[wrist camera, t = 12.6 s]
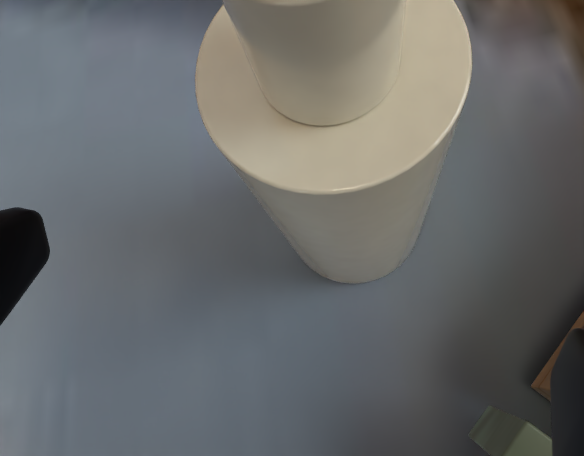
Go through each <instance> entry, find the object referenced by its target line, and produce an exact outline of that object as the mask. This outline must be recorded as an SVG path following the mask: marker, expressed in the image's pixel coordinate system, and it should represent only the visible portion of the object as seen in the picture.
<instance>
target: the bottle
mask: <svg viewBox="0 0 584 456" xmlns="http://www.w3.org/2000/svg"><path fill="white" fill-rule="evenodd" d="M222 2H223V5H222V7H221V8H220V9H219V11H218V12H217V14H216V15H215V17H214V18H213V20H212V22H211V24H210V26H209V27H208V29H207V31H206V33H205V36H204V39H203V41H202V44H201V47H200V50H199V55H198V59H197V65H196V75H195V88H196V98H197V103H198V109H199V112H200V115H201V118H202V121H203V124H204V126H205V128H206V130H207V131H208V133H209V135H210V137H211V139H212V140H213V142H214V143H215V144H216V146H217V147H218V149H219V150H220V151H221V153H222V154H223V155H224V157H225V158H226V159H227V161H228V162H229V163H230V165H231V166H232V167H233V168H234V170H235V171H236V172H237V174H238V175H239V176H240V178H241V179H242V180H243V182H244V183H245V184H246V186H247V187H248V188H249V190H250V191H251V192H252V194H253V195H254V196H255V198H256V199H257V200H258V202H259V203H260V204H261V206H262V207H263V208H264V210H265V211H266V212H267V214H268V215H269V216H270V218H271V219H272V220H273V222H274V223H275V224H276V226H277V227H278V228H279V230H280V231H281V232H282V234H283V235H284V236H285V237H286V239H287V240H288V241H289V243H290V244H291V245H292V247H293V248H294V249H295V251H296V252H297V253H298V255H299V256H300V257H301V259H302V260H303V261H304V262H305V263H306V264H307V265H308V266H309V267H310V268H311V269H312V270H314V271H315V272H317V273H318V274H320V275H322V276H323V277H326V278H328V279H330V280H334V281H337V282H342V283H366V282H370V281H374V280H377V279H379V278H382V277H384V276H386V275H388V274H390V273H391V272H393V271H394V270H395V269H397V268H398V267H399V266H400V265H401V264H402V263H403V262H404V261H405V260H406V259H407V258H408V256H409V255H410V254H411V252H412V250H413V249H414V247H415V245H416V242H417V240H418V237H419V234H420V231H421V228H422V225H423V223H424V220H425V217H426V214H427V211H428V208H429V205H430V202H431V199H432V196H433V194H434V191H435V188H436V185H437V182H438V179H439V176H440V173H441V170H442V168H443V165H444V162H445V159H446V156H447V153H448V150H449V147H450V144H451V141H452V139H453V136H454V133H455V130H456V127H457V124H458V121H459V118H460V115H461V113H462V110H463V107H464V104H465V101H466V98H467V94H468V90H469V86H470V82H471V75H472V64H473V63H472V46H471V42H470V37H469V33H468V29H467V27H466V24H465V21H464V19H463V16H462V14H461V12H460V11H459V9H458V7H457V5H456V4H455V2H454V0H222Z"/></svg>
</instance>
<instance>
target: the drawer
mask: <svg viewBox="0 0 584 456" xmlns="http://www.w3.org/2000/svg"><path fill="white" fill-rule="evenodd" d="M575 328H581V329H584V311H583V312H582V314H581V315H580V316H579V318H578V319H577V321H576V322H575V324H574V325H573V326H572V328H571V329H570V331H571V330H572V329H575ZM570 331H569V332H570ZM569 332H568V334H569ZM568 334H567V335H568ZM567 335H566V336H565V338H564V339H563V341H562V342H561V344H560V345H559V346H558V348H557V349H556V351H555V352H554V354H553V355H552V356H551V358H550V359H549V361H548V362H547V363H546V365H545V366H544V368H543V369H542V371H541V372H540V373H539V375H538V376H537V378H536V379H535V381H534V382H533V383H532V385H531V387H532V388H533V389H534V390H536V391H537V392H538V393H540V394H541V395H543V396H544V397H545V398H547V399H548V400H549V401H551V394H550V378H551V372H552V368H553V366H554V363H555V361H556V359H557V357H558V355H559V353H560V351H561V348H562V346H563V344H564V342H565V340H566V338H567ZM469 437H470V438H471V439H472V440H473V441H474V442H476V443H477V444H478V445H479V446H480V447H482V448H483V449H484V450H485V451H486V452H487V453H489V454H490V455H491V456H553V455H552V439H551V438H550V437H549V436H547V435H546V434H545V433H543V432H542V431H541V430H539V429H538V428H537V427H536V426H534V425H533V424H532V423H530V422H529V421H526V420H524V419H521V418H519V417H517V416H514V415H512V414H509V413H507V412H505V411H502V410H500V409H497V408H495V407H493V406H488V407H487V409H486V410H485V411H484V413H483V414H482V416H481V417H480V418H479V420H478V421H477V423H476V424H475V426H474V427H473V428H472V430H471V431H470V433H469Z"/></svg>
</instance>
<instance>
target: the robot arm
mask: <svg viewBox="0 0 584 456" xmlns="http://www.w3.org/2000/svg"><path fill="white" fill-rule="evenodd" d="M49 254H50V248H49V243H48V239H47V235H46V231H45V227H44V223H43V219H42V217H41V215H40V214H39V213H38V212H36V211H33V210H29V209H24V208H19V207H15V208H10V209H6V210H1V211H0V325H1V324H2V323H3V321H4V320H5V319H6V317H7V316H8V315H9V313H10V312H11V311H12V309H13V308H14V306H15V305H16V304H17V302H18V301H19V300H20V298H21V297H22V295H23V294H24V293H25V291H26V290H27V289H28V287H29V286H30V284H31V283H32V282H33V280H34V279H35V278H36V276H37V275H38V274H39V272H40V271H41V269H42V268H43V267H44V265H45V264H46V262H47V260H48V258H49ZM550 394H551V424H552V455H553V456H584V329H581V328H575V329H572V330H571V331H570V332H569V334H568V335H567V338H566V340H565V342H564V344H563V346H562V348H561V351H560V353H559V355H558V357H557V359H556V361H555V363H554V366H553V368H552V372H551V378H550Z"/></svg>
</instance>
